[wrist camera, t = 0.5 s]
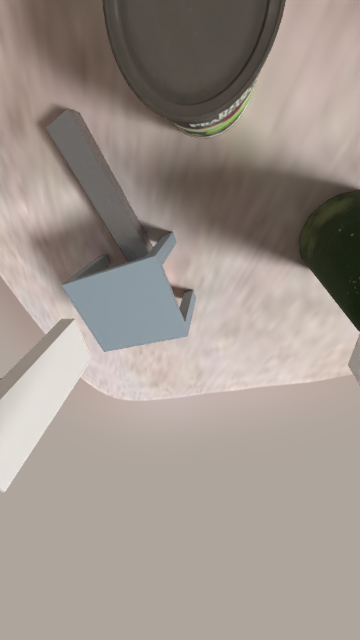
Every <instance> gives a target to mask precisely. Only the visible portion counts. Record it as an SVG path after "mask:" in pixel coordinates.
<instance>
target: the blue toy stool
mask: <svg viewBox="0 0 360 640" xmlns="http://www.w3.org/2000/svg"><path fill="white" fill-rule="evenodd" d="M175 244H176V239H175V236H174V234H173V232H172V233H169V234H166V235H163V236H162V238H161V239H160V240H159V241H158V242H157V243H156V245H155V246H154V247H153V248H152V249H151V251H150V252H149V253H148V254H147V255H146V257H143V258H140V259H137V260H134V261H131V262H127V263H124V264H121V265H118V266H115V267H112V268H108V269H105V268H106V267H107V266H108V265H109V264H111V263H110V261H109V260H108V258H107V256H106V255H104V256H101V257H98V258H97V259H95V260H94V261H93V262H91V263H90V264H89V265H87V266H86V267H85V268H83V269H82V270H81V271H79V272H78V273H77V274H75V275H74V276H73V277H72V278H70V279H69V280H68V281H66V282H65V283H64V284H62V285H61V286H62V288H63V290H64V291H65V293H66V294H67V296H68V297H69V299H70V300H71V302H72V303H73V305H74V306H75V308H76V310H77V311H78V313H79V314H80V316H81V317H82V319H83V320H84V322H85V323H86V325H87V326H88V328H89V330H90V331H91V333H92V334H93V336H94V337H95V339H96V340H97V342H98V343H99V345H100V347H101V348H102V350H103V351H104V352H106V351H112V350H117V349H122V348H128V347H133V346H138V345H144V344H149V343H154V342H160V341H165V340H171V339H176V338H181V337H187V336H188V333H189V328H190V323H191V319H192V314H193V309H194V305H195V300H196V296H195V294H194V291H193V290H191V291H187V292H184V296H183V299H182V302H181V305H180V308H179V306H178V304H177V301H176V299H175V296H174V294H173V291H172V289H171V286H170V284H169V281H168V279H167V276H166V274H165V271H164V269H163V266H162V265H163V264H164V262H165V260H166V259H167V257H168V255H169V254H170V252H171V250H172V249H173V247H174V245H175ZM104 269H105V270H104Z"/></svg>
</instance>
